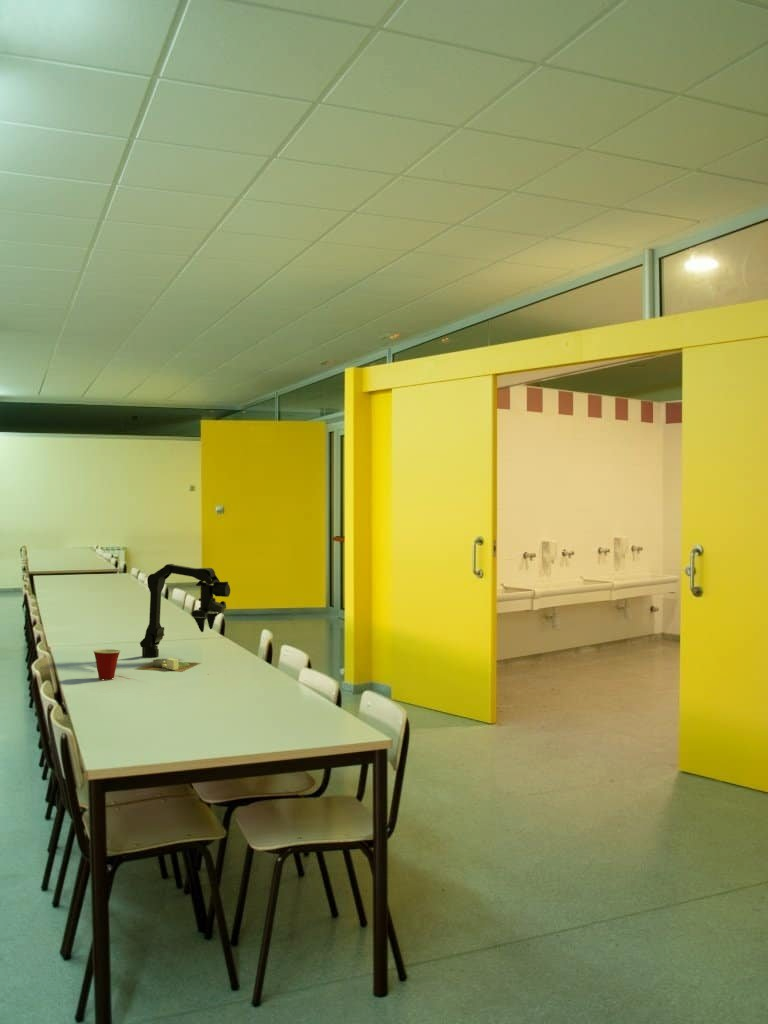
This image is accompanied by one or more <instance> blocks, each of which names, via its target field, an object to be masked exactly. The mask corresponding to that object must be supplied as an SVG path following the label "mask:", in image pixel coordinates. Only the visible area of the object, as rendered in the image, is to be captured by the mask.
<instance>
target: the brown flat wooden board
mask: <svg viewBox="0 0 768 1024" xmlns="http://www.w3.org/2000/svg"><path fill="white" fill-rule="evenodd" d="M200 664H202V662H187V661H178V669H176V670H172V669H168V668H164V667H153V661H151V662H149V663H146V664H144V665H142V666H139V667H136V668H135V670H140V671H141V670H142V671H153V672H154V671H158V672H160V671H161V672H173V673H176V672H177V673H183V672H185V671H187V670H190V669H192V668H195V667H196V666H198V665H200Z"/></svg>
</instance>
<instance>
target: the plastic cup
mask: <svg viewBox="0 0 768 1024" xmlns="http://www.w3.org/2000/svg"><path fill="white" fill-rule="evenodd" d="M121 652H122V651H121V650H120V649H112V648H111V649H110V648H105V649H104V648H103V649H101V648H100V649H99V648H98V649H94V650H93V654H94V658H95V665H96V669H97V671H96V672H97V673H98V679H99V680H100V679H104V680H103V681H106V680H105V679H112V678H114V679H115V676H116V675H115V674H116V671H117V666H118V660H119V659H118V658H119V656H120V653H121ZM112 680H113V679H112Z"/></svg>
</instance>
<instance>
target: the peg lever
mask: <svg viewBox="0 0 768 1024" xmlns="http://www.w3.org/2000/svg"><path fill="white" fill-rule="evenodd" d="M152 662H153V667H164V668H168V669H172V670H176V669H178V662H179V659H176V658H172V657H171V658H166V659H165V658H155V659H153V660H152Z"/></svg>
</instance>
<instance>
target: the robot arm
mask: <svg viewBox="0 0 768 1024" xmlns="http://www.w3.org/2000/svg"><path fill="white" fill-rule="evenodd" d="M172 574H175V575H181V576H184V577H185V576H186V577H192V578H194V579H196V580H199V581H198V582H197V583H196V584H195V586H197V587H200V592H199V593H200V598H198V602H199V603H200V604H199V605H200V607H198V609H195V610H193V611H191V617H192V619H194V621H195V623H196V624H197V627H198V629H199V631H200V633H204V630H205V625H206V621H207V626H208V628H209V630H212V629H213V628H214V625H215V620H216V618H217V616H219V615H220V614H222V613H224V612H225V610H226V609H227V605H226V604H227V603H226V601H224V600H222V601H220V602H219V601H217V599H216V598H215V597H222V598H223V597H224V598H226V597H227V598H228V597H230V594H231V587H230V584H229V581H220V579H219V577H218V576H217V575H216V571H215V569H214V568H211V567H200V568H199V567H197V568H196V567H190V566H189V567H188V566H184V565H177V564H173V563H168V564H165V565H164V566H163V567H162V568H160V569H158V570H157V571H156V572H154V573H151V574H149V575H148V576H147V577H146V580H147V583H146V584H147V588H148V590H149V593H150V596H149V618H148V619H149V621H148V622H149V623H148V624H147V628H146V630H145V634H144V638H143V639H141V641H140V642H139V645H140V648H141V653H142V655H141V656H142V657H141V658H144V659H158V658H159V656H160V655H159V654H160V653H159V652H160V651H159V648H158V647H159V646H158V645H160V642H161V641H162V640H163V638H164V636H165V627H164V626H162V625H161V605H162V603H161V602H162V593H163V589H164V588H165V584H166V580H167V579H168V578H169V577H170V576H171V575H172ZM214 596H215V597H214Z"/></svg>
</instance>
